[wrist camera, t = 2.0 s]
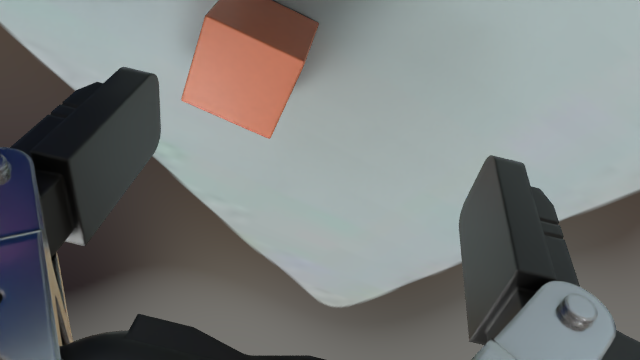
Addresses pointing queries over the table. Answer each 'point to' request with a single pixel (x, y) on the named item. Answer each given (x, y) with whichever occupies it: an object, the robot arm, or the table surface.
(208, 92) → the block
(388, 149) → the table surface
